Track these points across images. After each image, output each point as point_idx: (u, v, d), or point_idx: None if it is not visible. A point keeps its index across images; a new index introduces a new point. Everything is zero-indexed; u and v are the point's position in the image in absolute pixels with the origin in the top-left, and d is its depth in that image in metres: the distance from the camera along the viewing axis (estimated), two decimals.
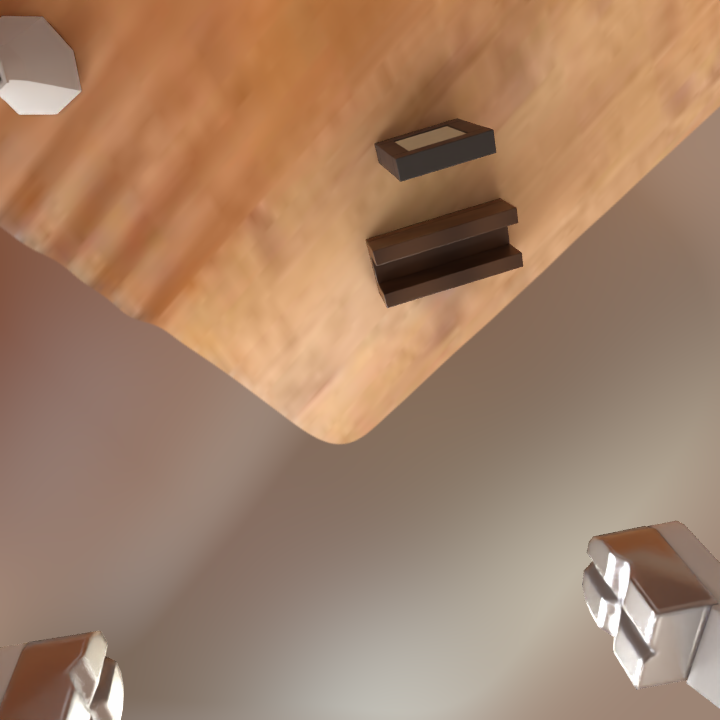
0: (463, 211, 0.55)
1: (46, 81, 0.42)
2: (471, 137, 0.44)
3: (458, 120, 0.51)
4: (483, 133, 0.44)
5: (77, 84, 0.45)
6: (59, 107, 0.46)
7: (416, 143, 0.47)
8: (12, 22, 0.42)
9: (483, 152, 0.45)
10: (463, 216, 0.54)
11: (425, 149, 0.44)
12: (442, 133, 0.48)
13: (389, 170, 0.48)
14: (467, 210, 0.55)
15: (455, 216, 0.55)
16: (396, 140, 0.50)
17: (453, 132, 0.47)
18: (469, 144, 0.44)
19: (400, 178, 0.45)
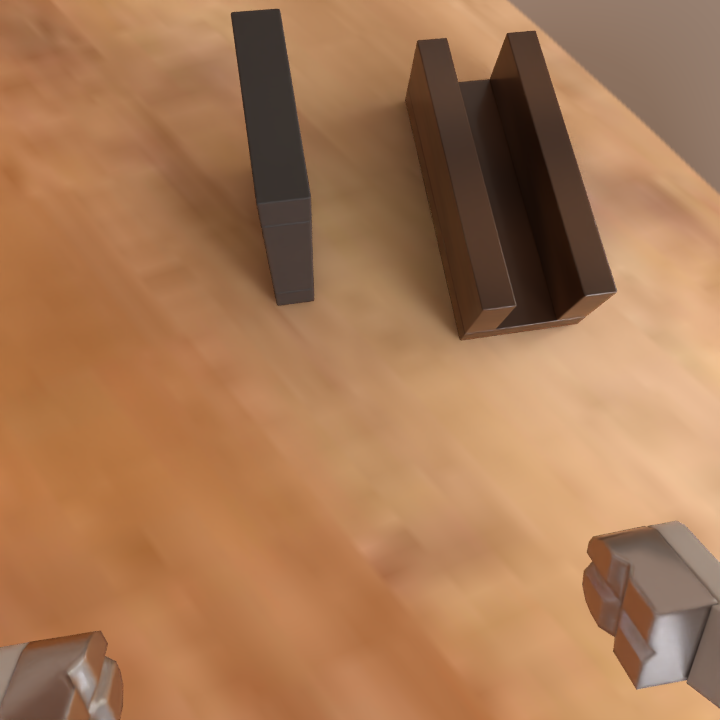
0: (421, 156, 0.29)
1: None
2: (238, 52, 0.20)
3: None
4: (235, 28, 0.20)
5: None
6: None
7: None
8: None
9: (274, 31, 0.20)
10: (428, 146, 0.28)
11: None
12: None
13: (307, 253, 0.22)
14: (420, 148, 0.29)
15: (428, 164, 0.28)
16: None
17: None
18: (252, 55, 0.20)
19: (303, 197, 0.19)
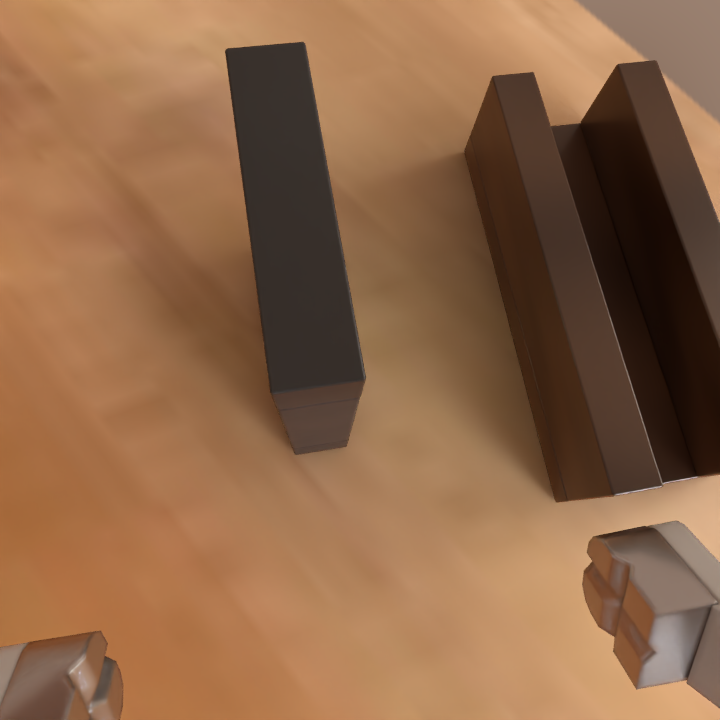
0: (491, 232, 0.21)
1: None
2: (238, 116, 0.12)
3: None
4: (232, 76, 0.12)
5: None
6: None
7: None
8: None
9: (297, 79, 0.12)
10: (506, 223, 0.20)
11: None
12: None
13: (347, 420, 0.14)
14: (489, 222, 0.21)
15: (504, 248, 0.20)
16: None
17: None
18: (261, 122, 0.12)
19: (352, 378, 0.11)
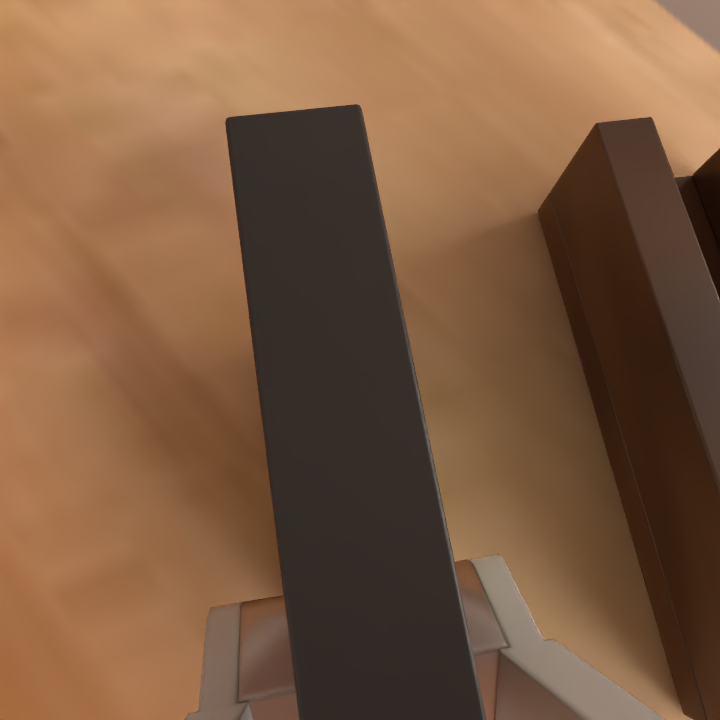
0: (581, 325, 0.16)
1: None
2: (247, 242, 0.07)
3: None
4: (238, 166, 0.07)
5: None
6: None
7: None
8: None
9: (349, 171, 0.07)
10: (610, 323, 0.14)
11: None
12: None
13: None
14: (578, 311, 0.16)
15: (604, 353, 0.15)
16: None
17: None
18: (289, 252, 0.07)
19: None
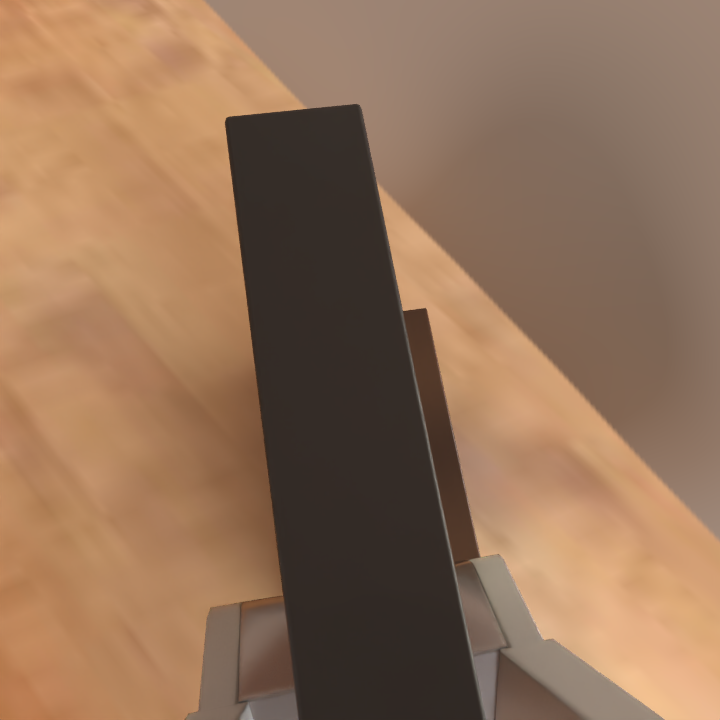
0: None
1: None
2: (247, 242, 0.07)
3: None
4: (237, 166, 0.07)
5: None
6: None
7: None
8: None
9: (349, 171, 0.07)
10: None
11: None
12: None
13: None
14: None
15: None
16: None
17: None
18: (288, 252, 0.07)
19: None
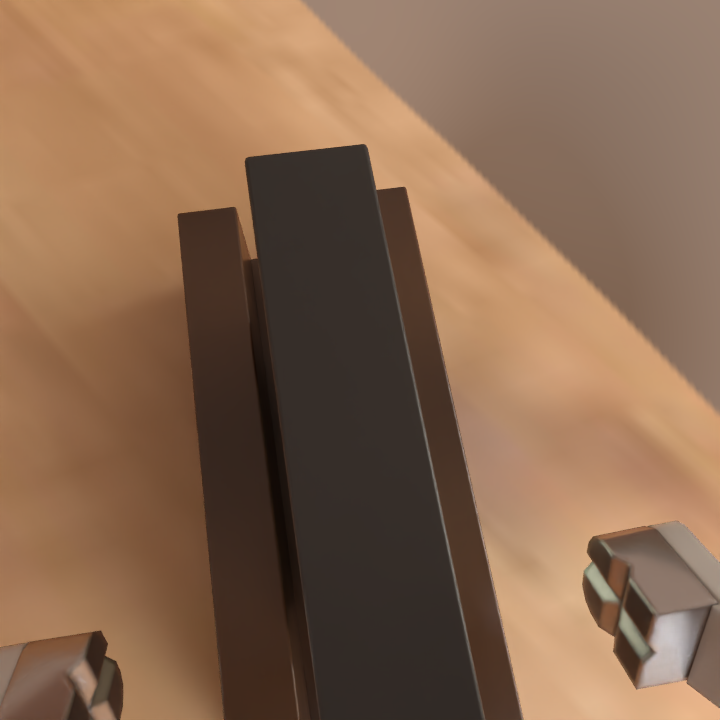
0: None
1: None
2: (266, 272, 0.08)
3: None
4: (257, 203, 0.08)
5: None
6: None
7: None
8: None
9: (357, 206, 0.08)
10: None
11: None
12: None
13: None
14: None
15: None
16: None
17: None
18: (303, 281, 0.08)
19: None
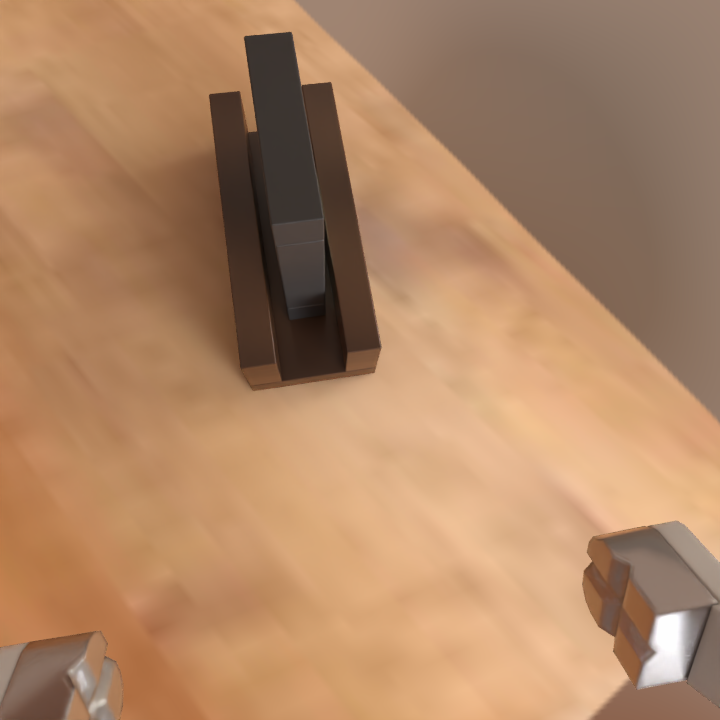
0: None
1: None
2: (252, 75, 0.21)
3: None
4: (248, 52, 0.21)
5: None
6: None
7: None
8: None
9: (287, 54, 0.21)
10: None
11: None
12: None
13: (319, 270, 0.23)
14: None
15: None
16: None
17: None
18: (265, 78, 0.21)
19: (316, 218, 0.19)
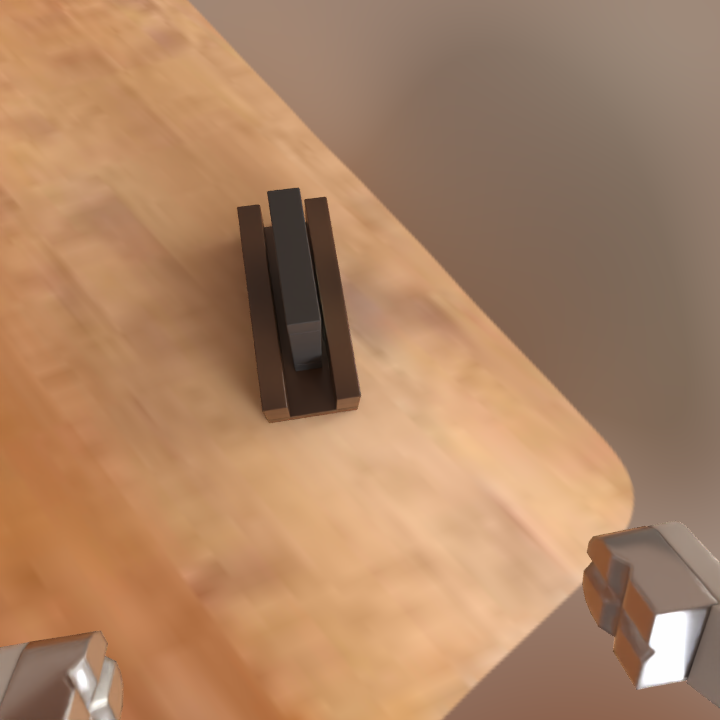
0: None
1: None
2: (273, 220, 0.31)
3: None
4: (270, 203, 0.31)
5: None
6: None
7: None
8: None
9: (296, 204, 0.31)
10: None
11: None
12: None
13: (317, 344, 0.33)
14: None
15: None
16: None
17: None
18: (282, 222, 0.31)
19: (315, 320, 0.29)
